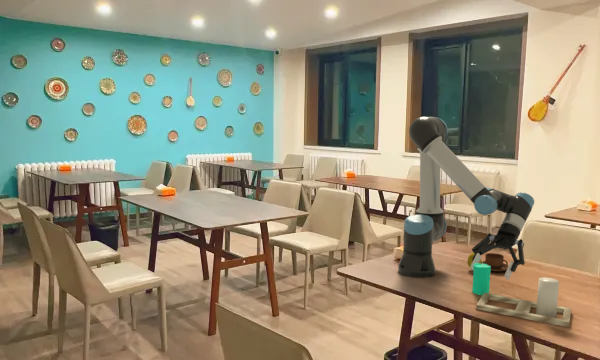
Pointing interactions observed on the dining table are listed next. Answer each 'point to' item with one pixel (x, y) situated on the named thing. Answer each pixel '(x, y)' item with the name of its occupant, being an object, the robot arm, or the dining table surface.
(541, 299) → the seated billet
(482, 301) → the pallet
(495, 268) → the cup and saucer
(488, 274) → the candle
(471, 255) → the lemon
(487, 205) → the robot arm
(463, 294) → the dining table surface
